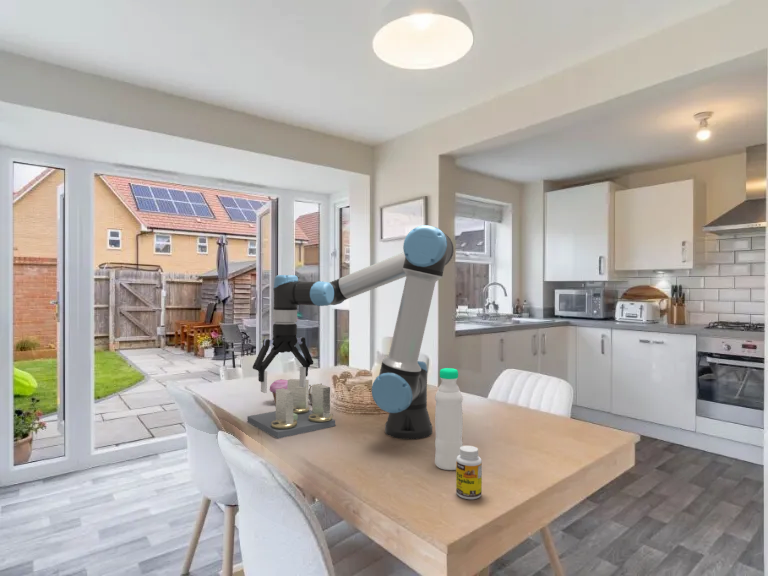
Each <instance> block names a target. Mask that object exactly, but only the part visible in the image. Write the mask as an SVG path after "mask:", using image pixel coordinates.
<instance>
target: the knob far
mask: <svg viewBox="0 0 768 576" xmlns="http://www.w3.org/2000/svg"><path fill="white" fill-rule="evenodd" d="M287 380H288V384H287V390H289V391H292V392H294V395H293V413H295V414H300V413H305V412H308V411H309V410H310V406H309V399H308V397H309V388H310V386H309V385H310V384H309V383H310V382H309V381H310V380H309V379H306V387H304V388H303V387H300V386H299V383H300V378H290V379H287Z"/></svg>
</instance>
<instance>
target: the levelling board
mask: <svg viewBox="0 0 768 576" xmlns="http://www.w3.org/2000/svg"><path fill="white" fill-rule="evenodd" d="M311 414H312V409H309V411H308V412H305V413H300V414H295V413H293V419H295V420H297V426H295V427H292V428H288V429H276V428H273V427H272V426H271V423H272V421H274V420H276V410H274V411H269V412H262V413H257V414H252V415H247V416H246V417H247V418H246V419H247V422H246V423H249V424H251V425H252V426H254V427H256V428H257V429H259V430H261V431H263V432H265V433H267V434H269V435H270V436H272V437H274V438H275V439H277V440H278V439H283V438H286V437H291V436H297V435H301V434H305V433H310V432H315V431H319V430H323V429H328V428H333V427H336V419H334V418H333V419H332V420H330V421H326V422H313V421H310V420H309V415H311Z"/></svg>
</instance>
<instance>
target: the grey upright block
mask: <svg viewBox="0 0 768 576" xmlns="http://www.w3.org/2000/svg"><path fill="white" fill-rule="evenodd" d="M311 386H312V403H311V404H312V406H311V407H312V409H311V411H312V414H311V415H309V420H310V421H313V422H326V421H330V420H332V419H334V415H333V413H331V387H330V386H328V385H326V384H325V385H324V384H322V385H321V383H317V384H316V383H315V384H312V385H311Z"/></svg>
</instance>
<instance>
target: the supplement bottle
mask: <svg viewBox="0 0 768 576" xmlns="http://www.w3.org/2000/svg"><path fill="white" fill-rule="evenodd" d="M482 461H483V460H482V458H481V457H480V456H479V448H478V447H476V446H475V445H474V446H473V445H462V447H460V455H458V456H457V458H456V470H455V472H456V473H455V477H456V478H455V483H456V484H455V493H456V495H457V496H458V497H460V498H462V499H464V500H465V499H466V500H476V499H477V500H478V498H481V497H482V491H483V490H482V487H483V485H482V483H483V482H482V480H483V477H482V475H483V471H482V469H483V466H482V465H483V462H482Z"/></svg>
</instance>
